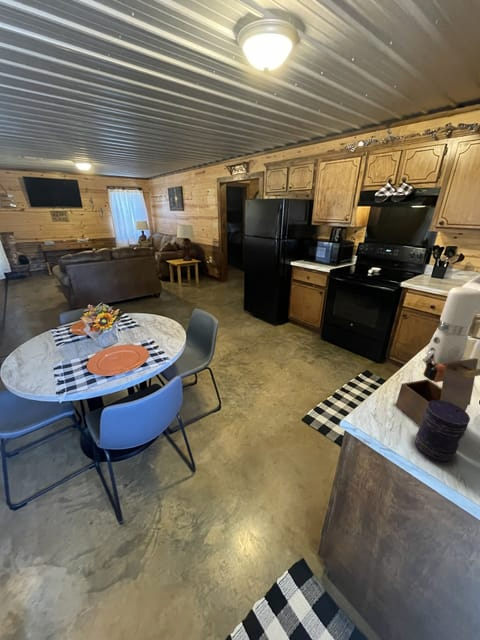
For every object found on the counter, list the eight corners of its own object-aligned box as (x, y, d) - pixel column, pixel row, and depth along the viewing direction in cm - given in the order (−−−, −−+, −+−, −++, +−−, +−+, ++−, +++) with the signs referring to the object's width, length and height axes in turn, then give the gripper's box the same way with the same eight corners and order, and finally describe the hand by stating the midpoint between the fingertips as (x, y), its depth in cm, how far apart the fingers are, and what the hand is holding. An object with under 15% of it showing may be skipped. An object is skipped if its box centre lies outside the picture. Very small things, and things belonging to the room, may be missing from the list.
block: (433, 372, 90) (438, 361, 88) (446, 380, 86) (451, 368, 84) (423, 374, 89) (427, 363, 87) (435, 382, 85) (439, 370, 83)
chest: (395, 405, 98) (401, 383, 94) (420, 400, 101) (427, 379, 97) (430, 435, 85) (439, 411, 81) (458, 428, 88) (468, 405, 84)
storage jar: (429, 465, 75) (445, 425, 69) (406, 437, 84) (419, 400, 78) (461, 463, 76) (480, 423, 70) (436, 436, 85) (450, 398, 79)
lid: (445, 362, 78) (462, 369, 73) (475, 358, 80) (493, 363, 76) (438, 409, 81) (454, 418, 77) (467, 403, 84) (484, 411, 79)
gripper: (442, 335, 75) (424, 387, 82) (486, 330, 79) (465, 380, 86) (420, 325, 82) (405, 374, 89) (462, 320, 86) (444, 368, 93)
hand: (435, 376), depth 87 cm, fingers closed on block, 4 cm apart
